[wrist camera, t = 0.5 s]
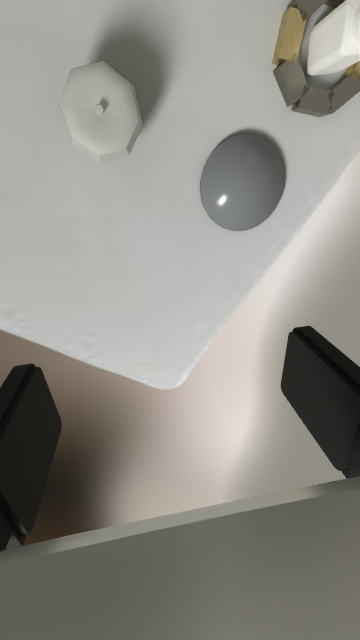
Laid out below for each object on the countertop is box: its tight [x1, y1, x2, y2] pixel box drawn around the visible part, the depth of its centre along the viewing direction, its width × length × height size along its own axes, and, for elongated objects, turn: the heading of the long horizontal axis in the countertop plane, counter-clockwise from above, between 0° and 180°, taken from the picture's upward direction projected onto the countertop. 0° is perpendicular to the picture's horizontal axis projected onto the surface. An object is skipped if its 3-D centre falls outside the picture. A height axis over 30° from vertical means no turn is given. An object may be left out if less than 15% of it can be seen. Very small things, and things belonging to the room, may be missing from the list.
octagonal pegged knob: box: [58, 61, 143, 162], centre depth 27 cm, size 8×8×7 cm
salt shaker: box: [306, 0, 360, 75], centre depth 25 cm, size 4×4×10 cm
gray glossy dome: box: [200, 133, 285, 231], centre depth 34 cm, size 11×11×1 cm
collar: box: [273, 0, 360, 117], centre depth 29 cm, size 11×11×2 cm
